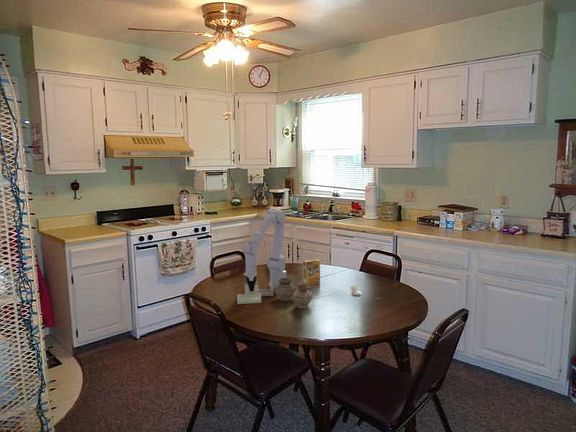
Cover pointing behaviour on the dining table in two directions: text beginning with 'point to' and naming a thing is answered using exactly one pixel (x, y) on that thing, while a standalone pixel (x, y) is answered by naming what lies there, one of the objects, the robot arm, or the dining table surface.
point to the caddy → (248, 288)
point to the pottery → (293, 292)
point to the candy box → (311, 272)
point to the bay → (266, 291)
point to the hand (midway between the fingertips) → (251, 289)
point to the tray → (248, 298)
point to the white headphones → (354, 291)
